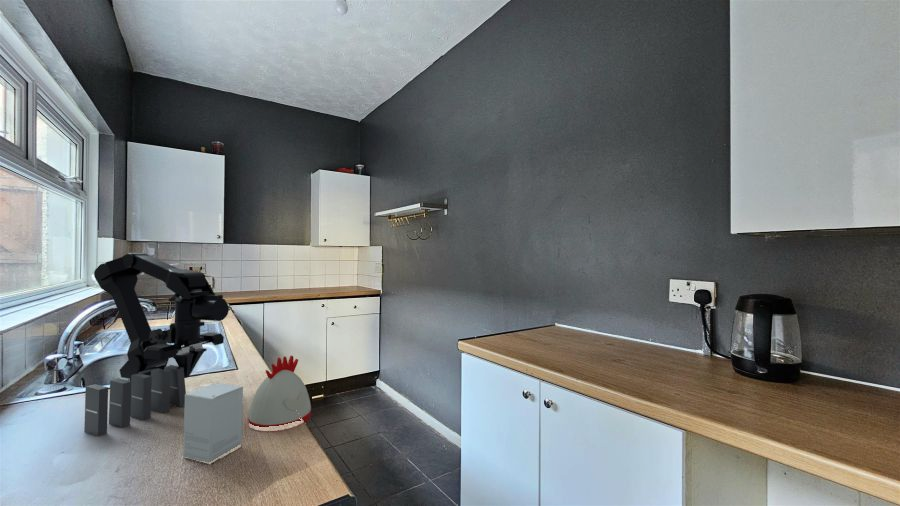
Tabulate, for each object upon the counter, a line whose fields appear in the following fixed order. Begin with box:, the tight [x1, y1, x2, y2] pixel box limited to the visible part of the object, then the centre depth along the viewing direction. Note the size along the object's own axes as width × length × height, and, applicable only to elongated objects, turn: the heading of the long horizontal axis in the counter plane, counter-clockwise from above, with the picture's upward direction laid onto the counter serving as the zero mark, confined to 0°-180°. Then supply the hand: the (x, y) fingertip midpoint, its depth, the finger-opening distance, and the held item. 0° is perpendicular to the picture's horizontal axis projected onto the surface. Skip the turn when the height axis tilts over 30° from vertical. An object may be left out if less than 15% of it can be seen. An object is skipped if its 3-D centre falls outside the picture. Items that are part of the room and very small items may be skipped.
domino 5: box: [164, 364, 187, 408], centre depth 96 cm, size 2×5×10 cm, turn 68°
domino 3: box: [130, 373, 152, 421], centre depth 88 cm, size 2×5×10 cm, turn 69°
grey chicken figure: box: [247, 355, 312, 427], centre depth 90 cm, size 14×14×15 cm
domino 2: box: [108, 377, 131, 429], centre depth 84 cm, size 2×5×10 cm, turn 69°
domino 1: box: [83, 383, 109, 437], centre depth 81 cm, size 2×5×10 cm, turn 69°
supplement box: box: [182, 382, 244, 462], centre depth 74 cm, size 7×7×13 cm
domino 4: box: [151, 369, 171, 414], centre depth 92 cm, size 2×5×10 cm, turn 69°
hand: (186, 377), depth 98 cm, fingers closed
